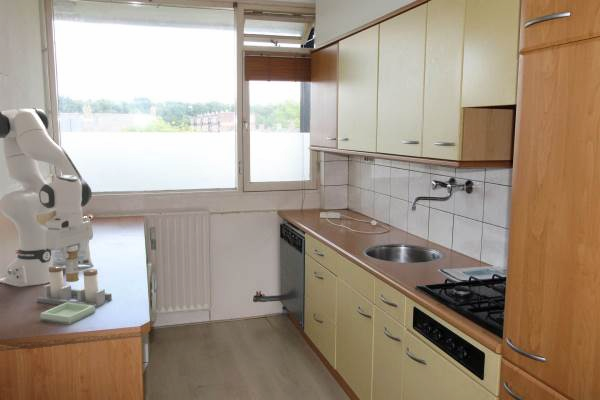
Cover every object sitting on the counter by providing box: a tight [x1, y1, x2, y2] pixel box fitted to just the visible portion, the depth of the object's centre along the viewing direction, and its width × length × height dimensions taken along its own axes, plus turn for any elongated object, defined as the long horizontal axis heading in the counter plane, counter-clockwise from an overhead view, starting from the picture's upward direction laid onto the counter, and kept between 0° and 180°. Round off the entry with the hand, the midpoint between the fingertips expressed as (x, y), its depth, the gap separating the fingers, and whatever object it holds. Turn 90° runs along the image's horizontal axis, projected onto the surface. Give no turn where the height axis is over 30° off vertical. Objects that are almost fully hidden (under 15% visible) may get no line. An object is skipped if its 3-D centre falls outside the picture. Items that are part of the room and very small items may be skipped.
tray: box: [40, 302, 96, 325], centre depth 181 cm, size 12×12×2 cm
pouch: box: [47, 223, 94, 267], centre depth 244 cm, size 8×19×20 cm, turn 102°
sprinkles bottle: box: [64, 245, 80, 283], centre depth 196 cm, size 5×5×14 cm
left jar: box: [49, 266, 64, 299], centre depth 199 cm, size 5×5×12 cm
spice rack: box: [36, 283, 113, 307], centre depth 197 cm, size 25×10×5 cm, turn 71°
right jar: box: [82, 268, 99, 305], centre depth 194 cm, size 5×5×12 cm
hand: (71, 256), depth 196 cm, fingers closed on sprinkles bottle, 4 cm apart
